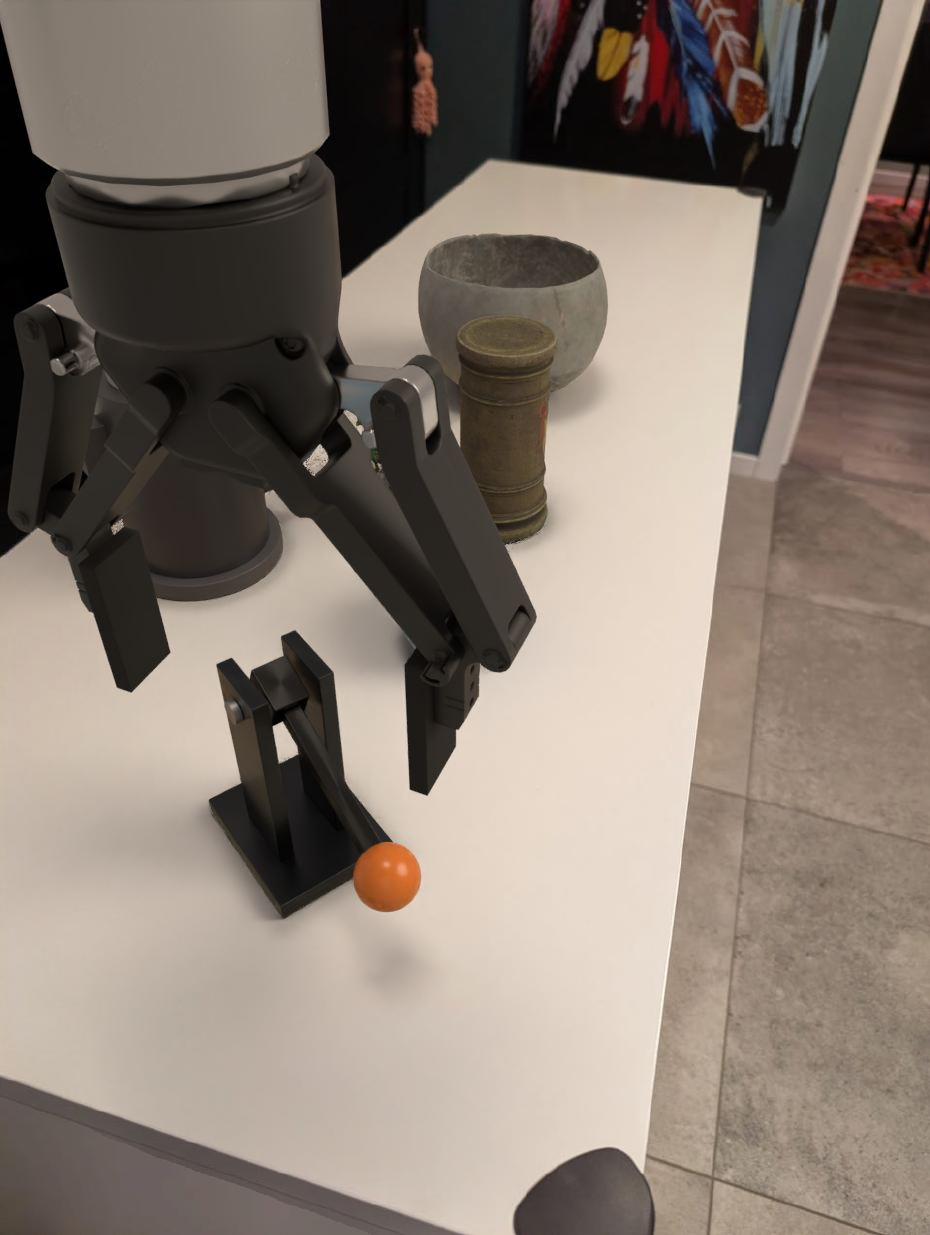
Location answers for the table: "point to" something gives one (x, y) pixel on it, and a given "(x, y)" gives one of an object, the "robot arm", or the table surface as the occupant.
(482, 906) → the table surface
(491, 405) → the container
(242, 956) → the table surface
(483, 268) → the bowl
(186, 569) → the kettle
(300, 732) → the switch
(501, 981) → the table surface
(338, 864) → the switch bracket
